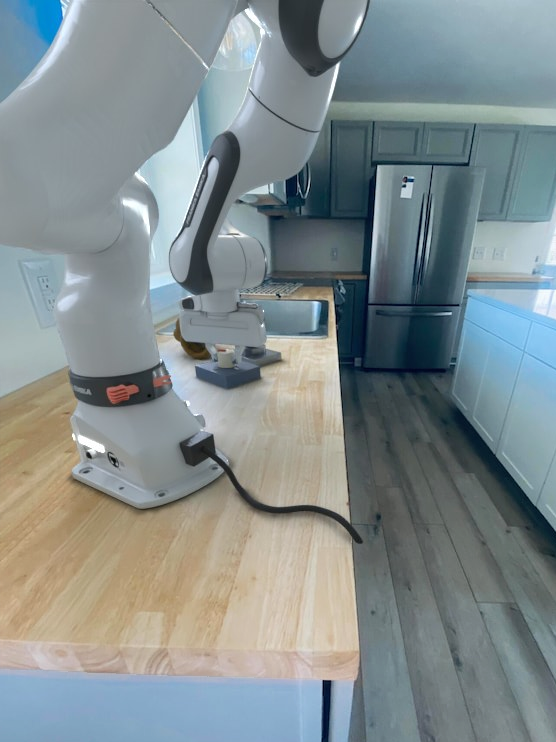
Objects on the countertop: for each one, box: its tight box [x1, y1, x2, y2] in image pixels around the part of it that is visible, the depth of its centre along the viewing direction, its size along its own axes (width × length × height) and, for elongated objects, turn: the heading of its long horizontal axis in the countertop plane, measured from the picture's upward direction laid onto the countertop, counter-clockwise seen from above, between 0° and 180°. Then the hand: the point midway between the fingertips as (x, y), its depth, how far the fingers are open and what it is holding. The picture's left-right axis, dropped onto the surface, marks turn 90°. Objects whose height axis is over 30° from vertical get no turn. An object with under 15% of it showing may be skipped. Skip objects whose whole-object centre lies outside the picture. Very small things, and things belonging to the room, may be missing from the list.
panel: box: [194, 360, 262, 390], centre depth 88 cm, size 12×10×3 cm
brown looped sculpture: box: [172, 317, 217, 360], centre depth 109 cm, size 18×13×22 cm
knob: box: [216, 348, 236, 368], centre depth 86 cm, size 4×4×4 cm
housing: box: [233, 343, 282, 367], centre depth 101 cm, size 12×10×4 cm
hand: (226, 362), depth 87 cm, fingers closed on knob, 4 cm apart
